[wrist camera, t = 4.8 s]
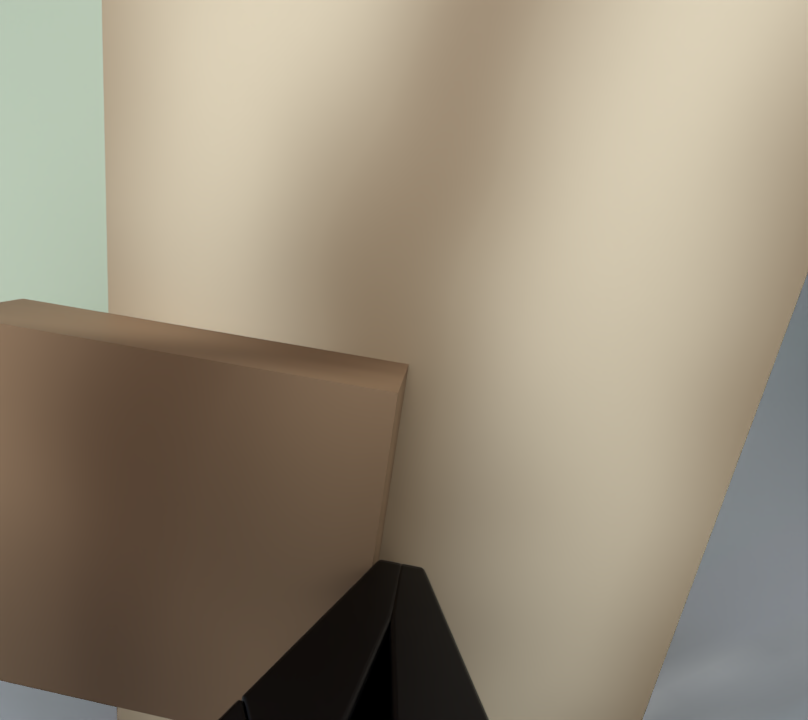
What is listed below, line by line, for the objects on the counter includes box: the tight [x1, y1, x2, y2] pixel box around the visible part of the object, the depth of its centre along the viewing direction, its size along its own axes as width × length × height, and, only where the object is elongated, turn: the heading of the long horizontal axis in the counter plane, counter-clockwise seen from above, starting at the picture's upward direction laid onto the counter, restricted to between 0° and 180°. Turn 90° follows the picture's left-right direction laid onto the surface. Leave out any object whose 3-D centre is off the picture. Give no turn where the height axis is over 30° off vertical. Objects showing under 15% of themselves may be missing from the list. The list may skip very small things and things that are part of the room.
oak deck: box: [102, 0, 808, 720], centre depth 11 cm, size 11×20×3 cm, turn 172°
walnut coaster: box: [0, 299, 409, 720], centre depth 9 cm, size 7×7×2 cm
